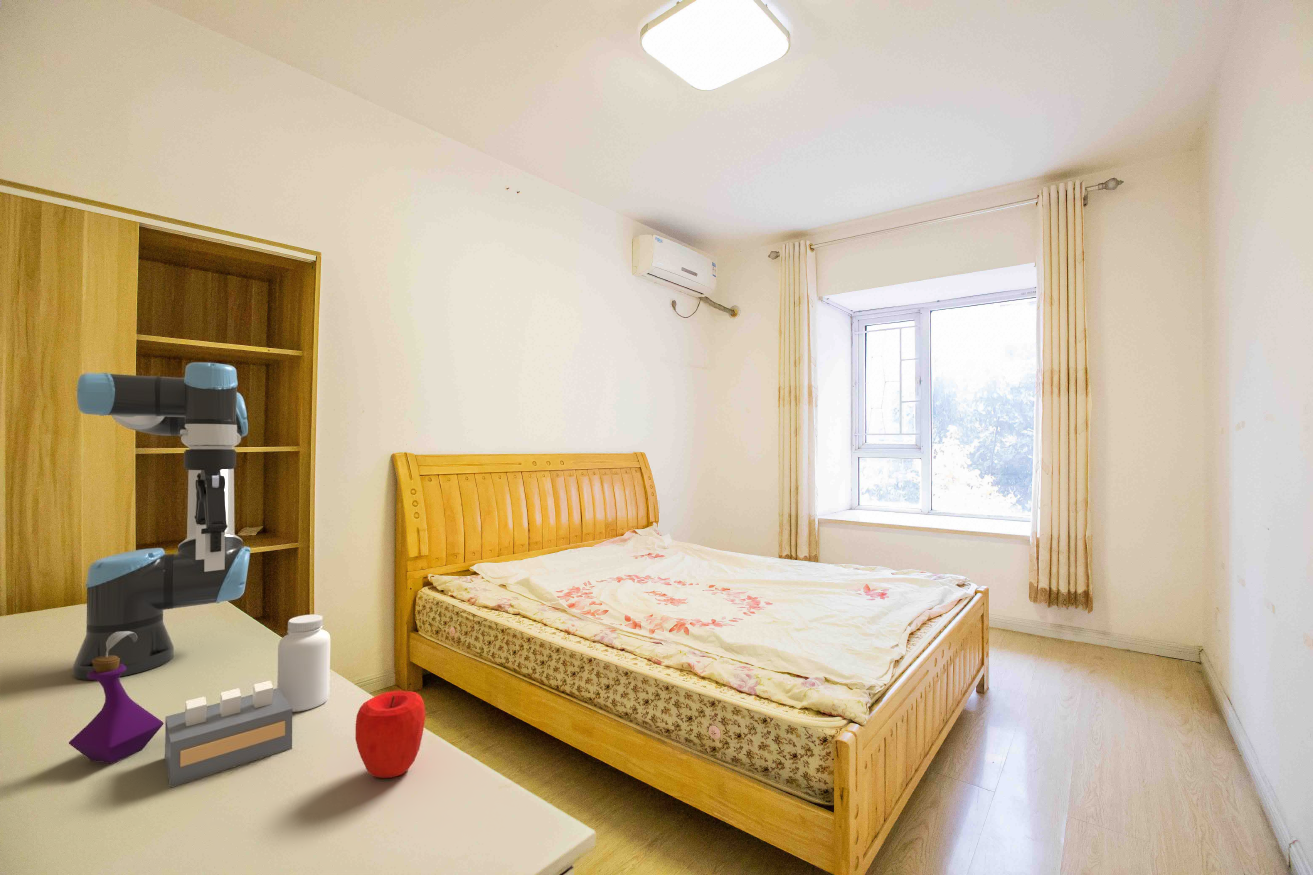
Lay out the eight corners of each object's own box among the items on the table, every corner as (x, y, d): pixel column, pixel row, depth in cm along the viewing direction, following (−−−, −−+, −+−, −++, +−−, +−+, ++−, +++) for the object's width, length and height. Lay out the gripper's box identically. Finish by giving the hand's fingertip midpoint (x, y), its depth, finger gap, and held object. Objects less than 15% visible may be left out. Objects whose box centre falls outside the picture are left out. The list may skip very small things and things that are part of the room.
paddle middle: (219, 708, 84) (220, 692, 84) (238, 704, 86) (239, 687, 85) (221, 717, 83) (222, 700, 82) (240, 712, 84) (241, 695, 84)
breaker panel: (165, 757, 83) (165, 716, 83) (277, 724, 93) (278, 687, 93) (170, 788, 75) (171, 743, 75) (292, 749, 85) (293, 709, 85)
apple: (355, 799, 73) (356, 715, 73) (354, 765, 81) (355, 690, 81) (428, 780, 77) (429, 700, 77) (421, 749, 85) (421, 677, 85)
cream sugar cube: (252, 700, 87) (253, 684, 86) (269, 696, 88) (270, 680, 88) (254, 708, 85) (255, 691, 85) (272, 703, 87) (273, 687, 86)
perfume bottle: (108, 771, 79) (109, 643, 79) (67, 765, 81) (69, 639, 81) (164, 743, 87) (165, 626, 87) (125, 738, 88) (127, 623, 88)
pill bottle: (340, 696, 103) (341, 614, 103) (299, 716, 95) (300, 627, 95) (308, 690, 105) (308, 610, 106) (265, 709, 98) (266, 622, 98)
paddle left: (185, 718, 81) (185, 700, 81) (204, 713, 83) (205, 696, 82) (186, 726, 80) (187, 709, 79) (206, 721, 81) (206, 704, 81)
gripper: (177, 447, 109) (176, 557, 109) (191, 448, 92) (189, 579, 91) (226, 447, 115) (225, 551, 114) (247, 448, 97) (246, 572, 97)
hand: (209, 564), depth 103 cm, fingers open, 13 cm apart
